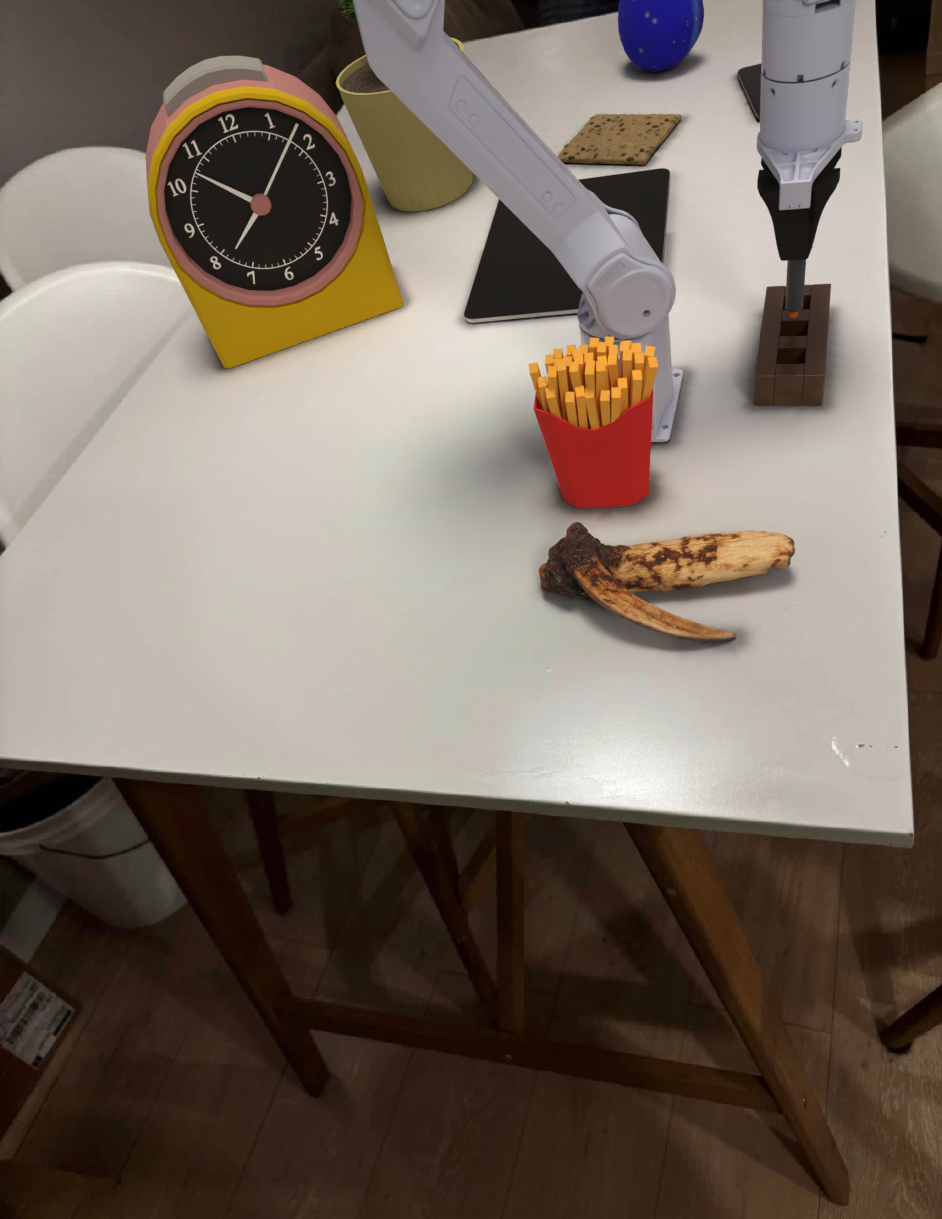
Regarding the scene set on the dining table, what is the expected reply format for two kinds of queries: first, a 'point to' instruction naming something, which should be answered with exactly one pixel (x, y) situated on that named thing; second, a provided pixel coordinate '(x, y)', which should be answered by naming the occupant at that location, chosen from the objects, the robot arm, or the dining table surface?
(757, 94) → the smartphone
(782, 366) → the stand
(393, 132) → the potted cactus
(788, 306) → the stylus
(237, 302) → the alarm clock
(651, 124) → the cookie
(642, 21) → the ornament
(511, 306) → the tablet
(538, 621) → the dining table surface
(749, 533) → the lashed bone hook
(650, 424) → the french fries
